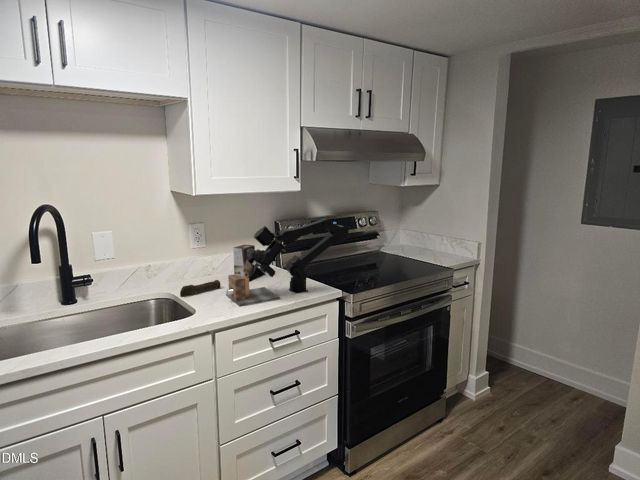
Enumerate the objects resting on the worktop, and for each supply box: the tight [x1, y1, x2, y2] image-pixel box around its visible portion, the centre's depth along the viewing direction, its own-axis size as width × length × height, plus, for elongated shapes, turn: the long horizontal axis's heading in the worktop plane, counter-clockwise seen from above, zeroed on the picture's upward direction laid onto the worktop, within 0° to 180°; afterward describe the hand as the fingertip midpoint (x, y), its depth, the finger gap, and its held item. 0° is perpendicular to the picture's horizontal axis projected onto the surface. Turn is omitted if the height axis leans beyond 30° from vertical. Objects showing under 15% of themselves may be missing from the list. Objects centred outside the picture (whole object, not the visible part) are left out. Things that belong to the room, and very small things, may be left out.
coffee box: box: [233, 244, 256, 277], centre depth 208 cm, size 9×6×16 cm
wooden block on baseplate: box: [225, 273, 281, 308], centre depth 180 cm, size 18×16×10 cm
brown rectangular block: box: [226, 275, 250, 297], centre depth 177 cm, size 9×5×8 cm, turn 121°
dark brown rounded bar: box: [179, 279, 221, 298], centre depth 187 cm, size 19×4×5 cm, turn 134°
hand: (247, 281), depth 179 cm, fingers closed, pressing on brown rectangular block
